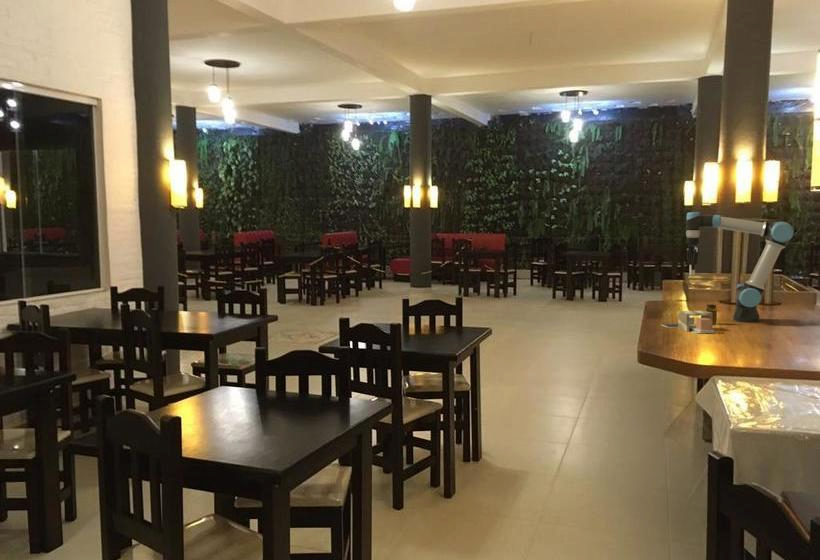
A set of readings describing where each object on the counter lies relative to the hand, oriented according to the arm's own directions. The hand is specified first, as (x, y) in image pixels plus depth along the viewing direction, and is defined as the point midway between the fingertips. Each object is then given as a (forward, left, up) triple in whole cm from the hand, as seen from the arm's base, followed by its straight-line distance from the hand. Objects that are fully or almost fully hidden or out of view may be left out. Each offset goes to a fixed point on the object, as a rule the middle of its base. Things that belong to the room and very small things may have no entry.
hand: (692, 275), depth 429 cm
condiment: (-7, +10, -30) cm, 32 cm away
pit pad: (+14, +13, -29) cm, 35 cm away
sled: (+10, +29, -29) cm, 42 cm away
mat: (+10, +37, -29) cm, 48 cm away
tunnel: (+10, +27, -29) cm, 41 cm away
